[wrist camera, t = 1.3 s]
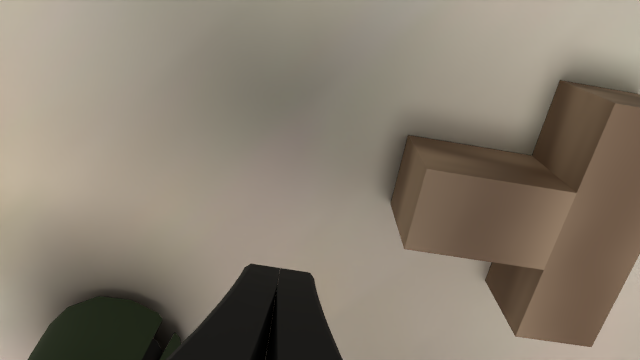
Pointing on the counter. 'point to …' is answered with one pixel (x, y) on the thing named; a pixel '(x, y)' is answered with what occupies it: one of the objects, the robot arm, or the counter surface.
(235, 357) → the robot arm
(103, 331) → the character mug
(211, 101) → the counter surface
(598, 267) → the walnut tee
